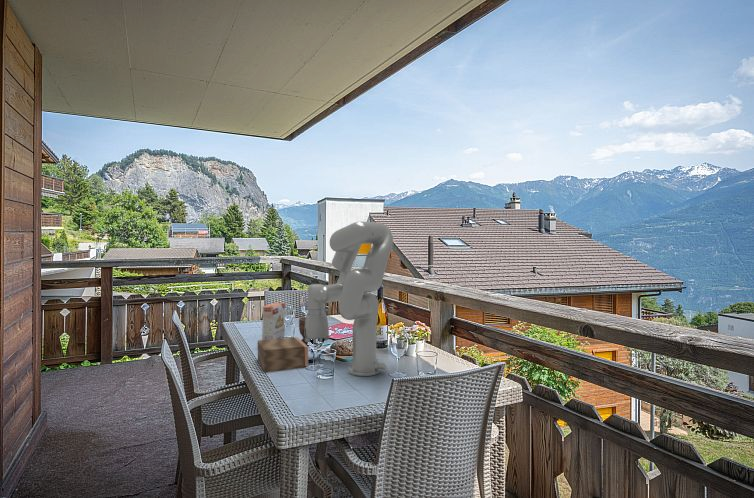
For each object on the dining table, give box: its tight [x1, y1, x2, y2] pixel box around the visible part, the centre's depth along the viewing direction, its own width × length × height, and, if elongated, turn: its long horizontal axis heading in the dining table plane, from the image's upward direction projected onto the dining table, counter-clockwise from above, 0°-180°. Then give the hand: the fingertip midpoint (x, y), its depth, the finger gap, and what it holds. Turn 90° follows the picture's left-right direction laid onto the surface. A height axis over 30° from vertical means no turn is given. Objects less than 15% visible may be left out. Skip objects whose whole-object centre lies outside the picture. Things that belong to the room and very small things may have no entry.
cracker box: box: [261, 302, 286, 340], centre depth 211 cm, size 14×6×21 cm, turn 168°
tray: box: [294, 337, 309, 367], centre depth 183 cm, size 16×18×8 cm
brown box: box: [257, 336, 305, 373], centre depth 182 cm, size 16×18×9 cm
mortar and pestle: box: [298, 316, 307, 345], centre depth 217 cm, size 12×9×20 cm
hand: (317, 354), depth 188 cm, fingers closed
